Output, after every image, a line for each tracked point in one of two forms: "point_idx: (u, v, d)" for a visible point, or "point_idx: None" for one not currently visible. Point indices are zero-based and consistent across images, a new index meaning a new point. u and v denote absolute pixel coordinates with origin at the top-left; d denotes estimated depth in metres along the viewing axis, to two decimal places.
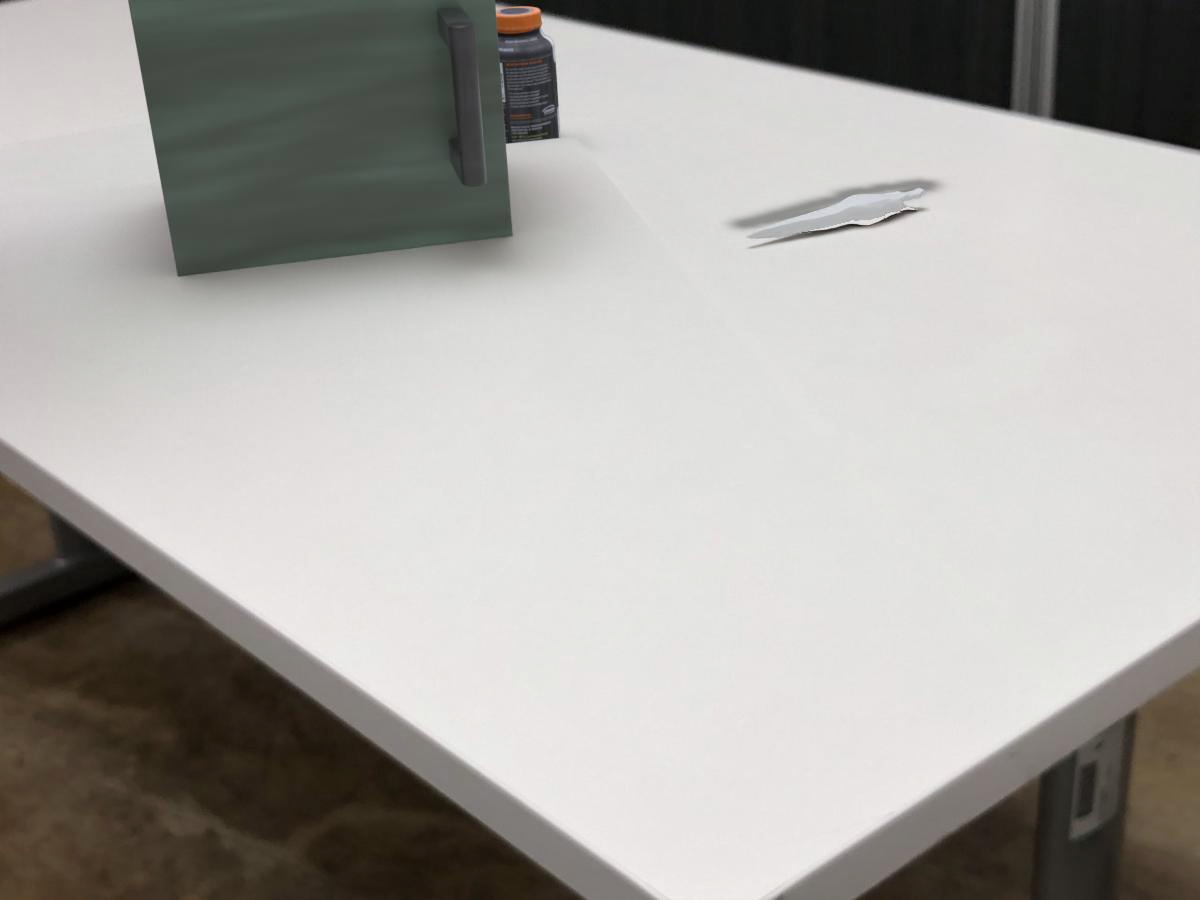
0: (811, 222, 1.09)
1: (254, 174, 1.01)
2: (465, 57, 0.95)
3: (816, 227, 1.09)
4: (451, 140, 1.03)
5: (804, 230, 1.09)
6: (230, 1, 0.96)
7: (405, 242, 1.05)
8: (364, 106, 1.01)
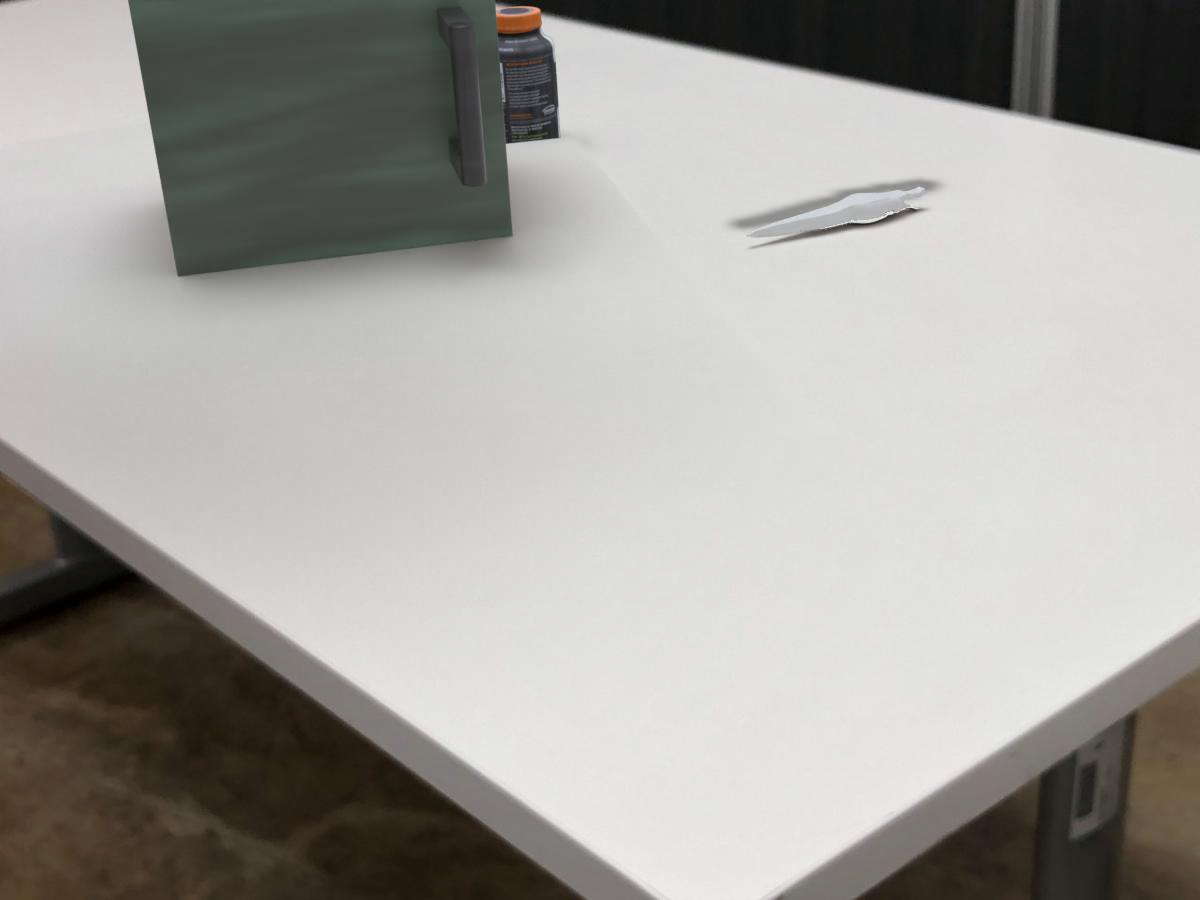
0: (811, 221, 1.09)
1: (254, 174, 1.01)
2: (465, 57, 0.95)
3: (816, 226, 1.09)
4: (451, 140, 1.03)
5: (804, 229, 1.09)
6: (230, 1, 0.96)
7: (405, 242, 1.05)
8: (364, 106, 1.01)
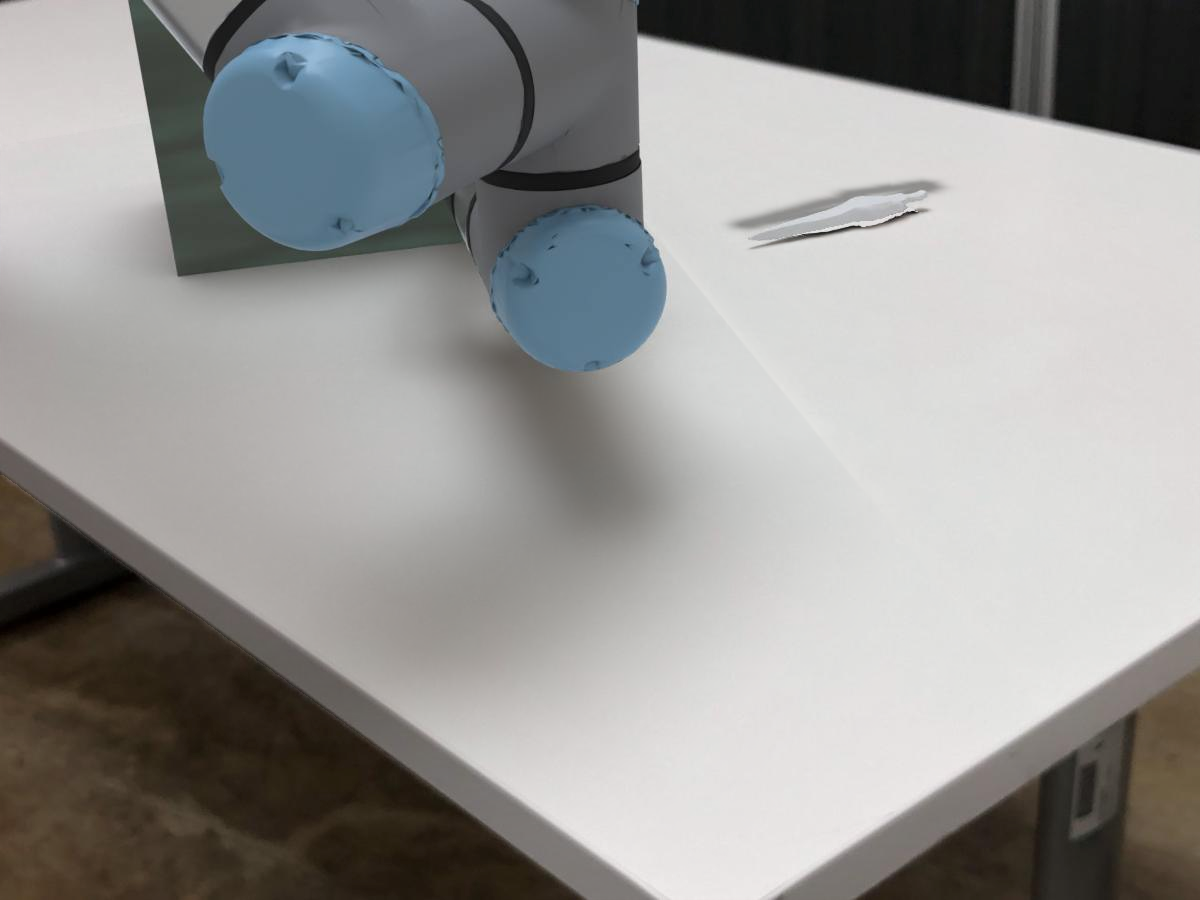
0: (813, 224, 1.08)
1: None
2: None
3: (818, 229, 1.09)
4: None
5: None
6: None
7: (405, 242, 1.05)
8: None
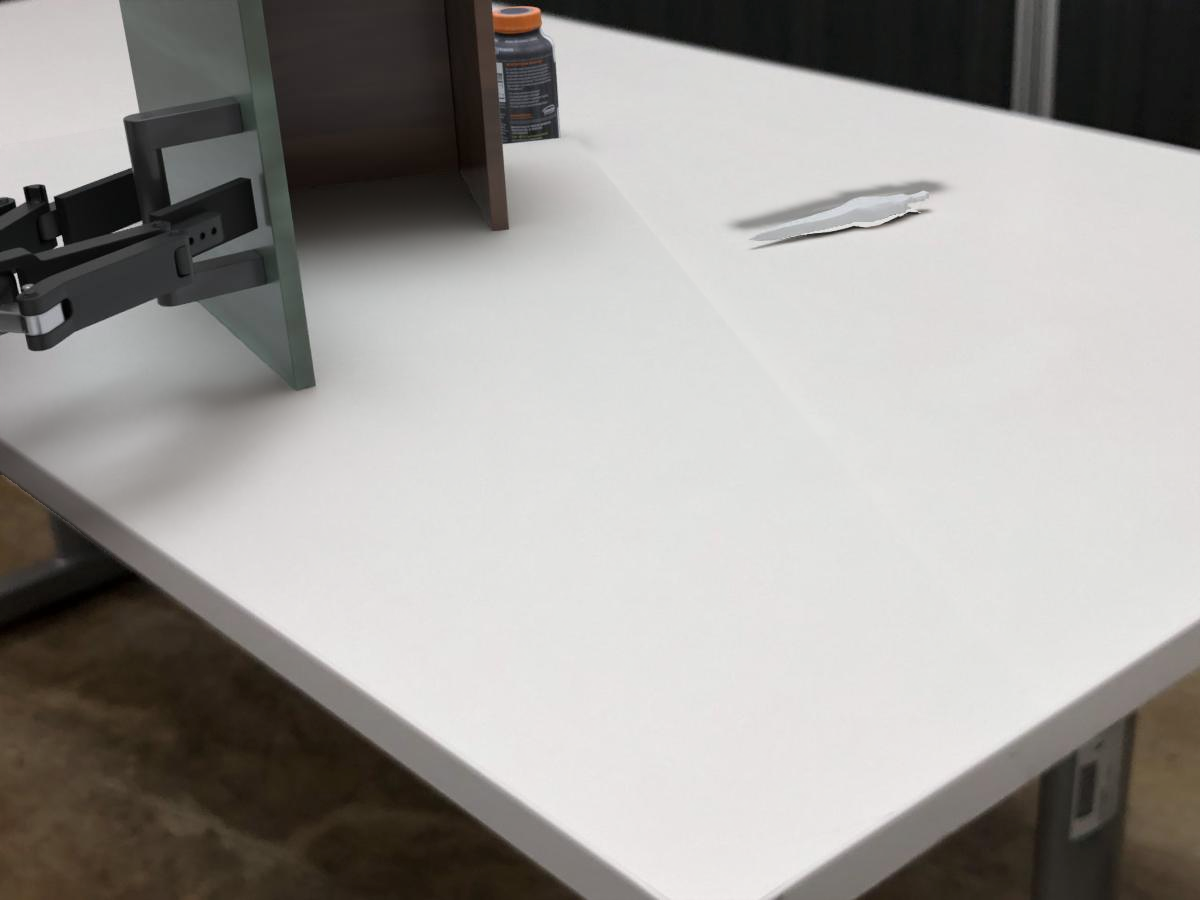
0: (814, 224, 1.08)
1: None
2: (130, 155, 0.79)
3: (819, 229, 1.09)
4: (248, 250, 0.85)
5: (807, 232, 1.08)
6: (150, 26, 0.91)
7: (248, 341, 0.91)
8: (212, 178, 0.88)
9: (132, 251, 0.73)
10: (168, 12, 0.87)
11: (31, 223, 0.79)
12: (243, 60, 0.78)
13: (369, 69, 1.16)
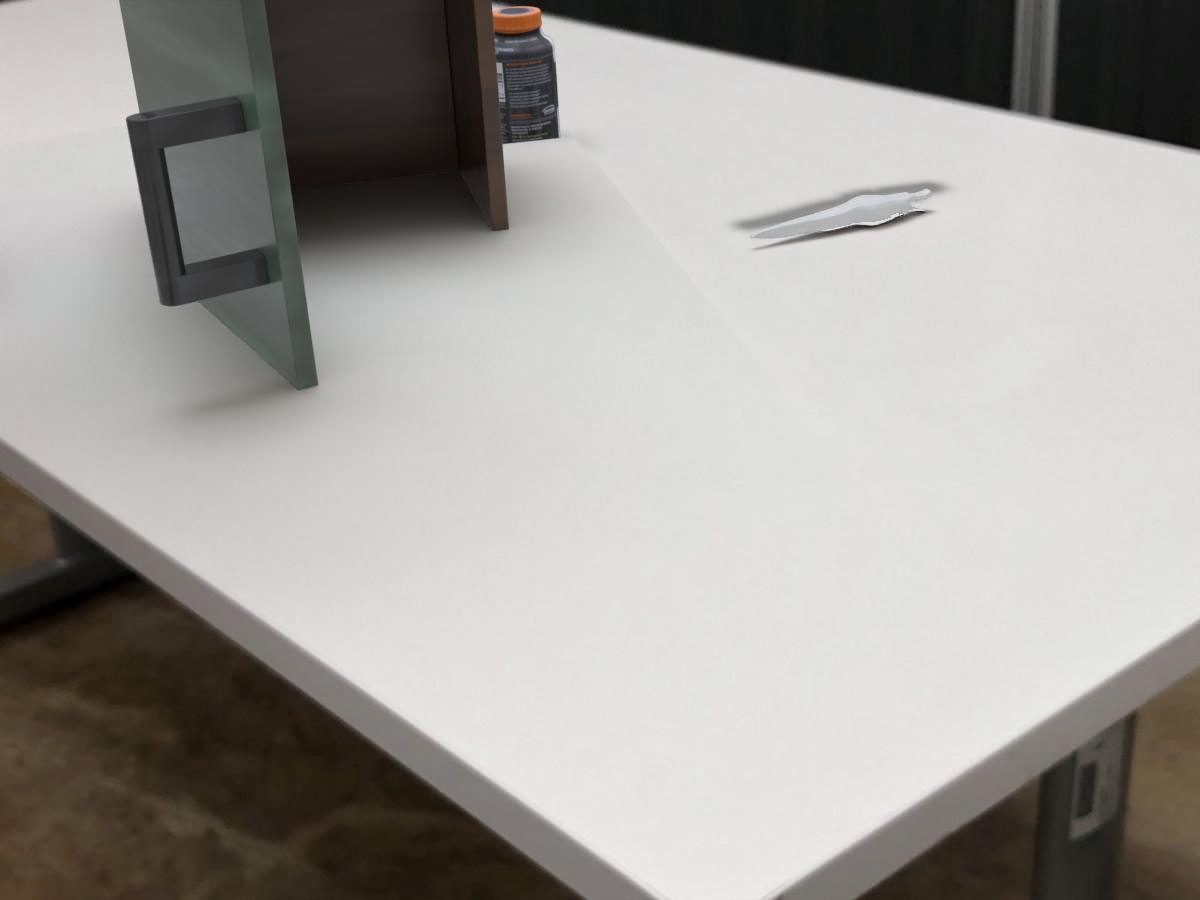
0: (816, 222, 1.08)
1: (182, 206, 0.96)
2: (132, 155, 0.79)
3: (821, 228, 1.08)
4: (250, 250, 0.85)
5: (809, 230, 1.08)
6: (150, 25, 0.91)
7: (249, 340, 0.91)
8: (214, 177, 0.88)
9: None
10: (169, 12, 0.87)
11: None
12: (246, 60, 0.78)
13: (369, 69, 1.16)
